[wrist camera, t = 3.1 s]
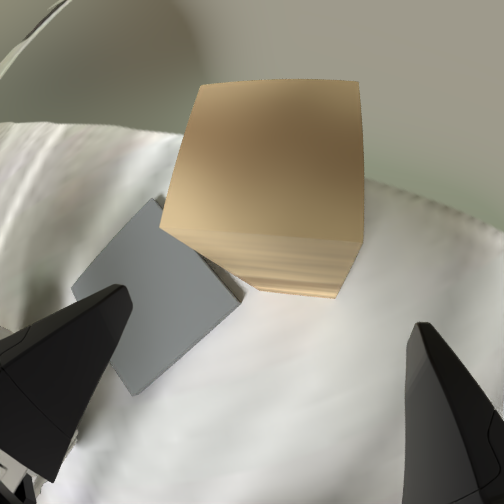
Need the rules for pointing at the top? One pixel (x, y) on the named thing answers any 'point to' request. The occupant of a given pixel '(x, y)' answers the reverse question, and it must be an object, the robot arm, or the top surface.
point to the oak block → (273, 183)
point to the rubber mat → (156, 296)
